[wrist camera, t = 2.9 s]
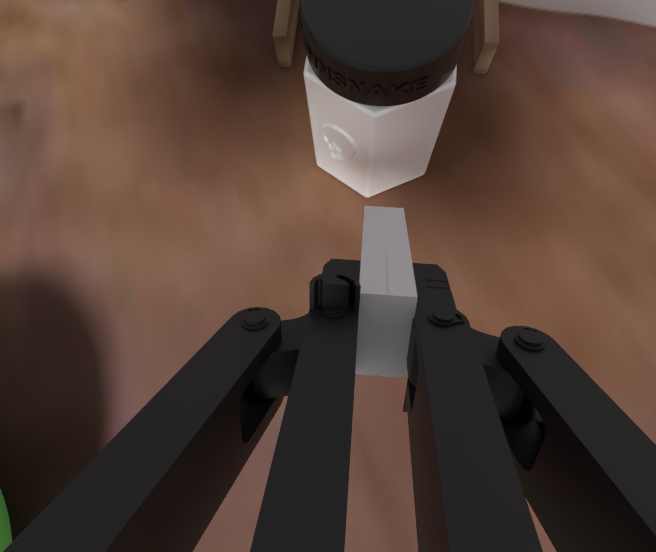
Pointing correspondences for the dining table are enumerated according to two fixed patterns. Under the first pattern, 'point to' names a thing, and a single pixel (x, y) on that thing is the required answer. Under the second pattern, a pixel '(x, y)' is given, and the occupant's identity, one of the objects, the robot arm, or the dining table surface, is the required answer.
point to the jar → (380, 84)
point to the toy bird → (4, 525)
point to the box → (482, 29)
